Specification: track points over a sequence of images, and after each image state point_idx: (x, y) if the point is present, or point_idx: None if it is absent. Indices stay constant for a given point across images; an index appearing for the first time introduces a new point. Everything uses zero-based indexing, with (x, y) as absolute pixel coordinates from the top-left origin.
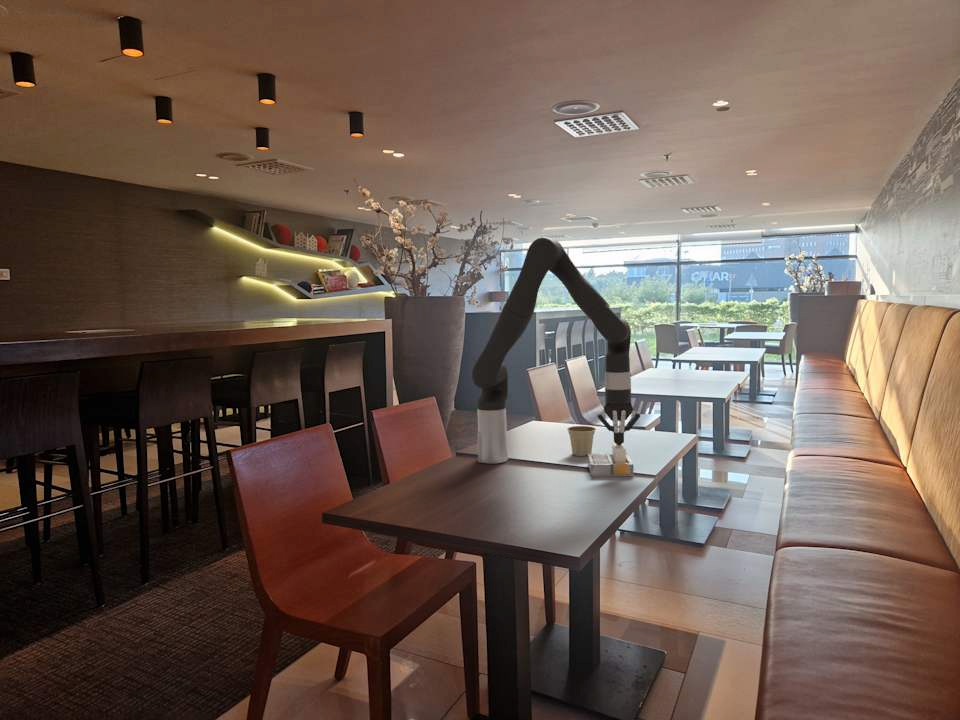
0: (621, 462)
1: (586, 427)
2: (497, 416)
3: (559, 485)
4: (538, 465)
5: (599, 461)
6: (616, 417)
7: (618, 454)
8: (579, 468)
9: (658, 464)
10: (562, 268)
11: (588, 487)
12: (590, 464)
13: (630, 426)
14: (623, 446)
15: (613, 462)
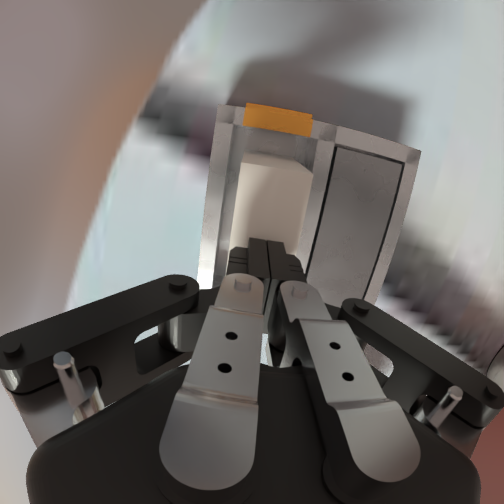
0: (267, 157)
1: None
2: None
3: (495, 91)
4: (472, 316)
5: (369, 199)
6: (331, 386)
7: (288, 164)
8: (395, 268)
9: (94, 265)
10: None
11: (429, 29)
12: (410, 181)
13: (148, 294)
14: (238, 228)
15: None
